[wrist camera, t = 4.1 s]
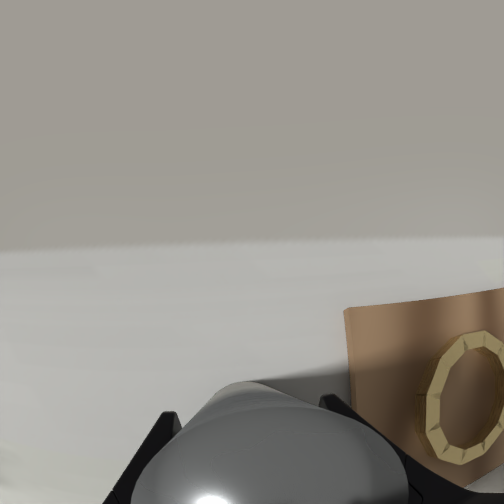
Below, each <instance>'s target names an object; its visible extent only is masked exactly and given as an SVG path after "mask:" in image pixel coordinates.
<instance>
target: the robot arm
mask: <svg viewBox="0 0 504 504" xmlns="http://www.w3.org/2000/svg"><path fill="white" fill-rule="evenodd" d="M319 407H321V408H324V409H326V410H329V411H332V412H335V413H338V414H340V415H343V416H346V417H349V418H351V419H354V420H356V421H358V422H360V423H362V424H364V425H366V426H368V427H369V428H371V429H372V430H373V431H375V432H376V433H378V434H379V435H380V436H382V437H383V438H384V439H385V440H386V441H387V442H388V443H389V445H390V446H391V447H392V448H393V449H394V451H395V452H396V454H397V455H398V457H399V458H400V460H401V463H402V465H403V467H404V469H405V472H406V476H407V480H408V489H409V500H408V504H504V493H478V492H473V491H469V490H466V489H464V488H462V487H460V486H458V485H456V484H454V483H452V482H451V481H449V480H447V479H445V478H443V477H441V476H440V475H438V474H436V473H434V472H433V471H431V470H429V469H428V468H426V467H425V466H423V465H422V464H420V463H419V462H418V461H416V460H415V459H414V458H412V457H411V456H410V455H408V454H406V452H404V451H403V450H402V449H401V448H399V447H398V446H397V445H396V444H394V443H393V442H392V441H391V440H389V439H388V438H387V437H386V436H384V435H383V434H382V433H381V432H379V431H378V430H377V429H376V428H374V427H373V426H372V425H371V424H370V423H368V422H367V421H366V420H365V419H364V418H362V417H361V416H360V415H359V414H358V413H356V412H355V411H354V410H353V409H352V408H350V407H349V406H348V405H347V404H346V403H344V402H343V401H342V400H341V399H340V398H339V397H337V396H336V395H335V394H333V393H330V394H325V395H322V396H321V397H320V402H319ZM181 429H182V427H181V424H180V421H179V418H178V416H177V413H176V412H174V411H165V412H163V413H162V414H161V415H160V417H159V418H158V420H157V422H156V423H155V425H154V426H153V428H152V429H151V431H150V432H149V434H148V435H147V437H146V438H145V440H144V442H143V443H142V445H141V446H140V448H139V449H138V451H137V452H136V454H135V455H134V457H133V458H132V460H131V461H130V463H129V465H128V466H127V468H126V469H125V471H124V472H123V474H122V475H121V477H120V478H119V480H118V481H117V483H116V484H115V486H114V487H113V489H112V490H113V491H111V492H110V493H109V495H108V496H107V498H106V499H105V501H104V502H103V503H102V504H131V498H132V494H133V491H134V488H135V485H136V482H137V480H138V479H139V477H140V475H141V473H142V471H143V470H144V468H145V467H146V466H147V464H148V463H149V462H150V461H151V460H152V458H153V457H154V456H155V455H156V454H157V453H158V452H159V451H160V450H161V449H162V448H163V447H164V446H165V445H166V444H167V443H168V442H169V441H170V440H171V439H172V438H173V437H174V436H175V435H176V434H177V433H178V432H179V431H180V430H181Z"/></svg>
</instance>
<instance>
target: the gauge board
mask: <svg viewBox="0 0 504 504" xmlns="http://www.w3.org/2000/svg"><path fill="white" fill-rule="evenodd" d="M344 319H345V328H346V338H347V348H348V360H349V373H350V388H351V406H352V409H353V410H354V411H355V412H356V413H358V414H359V415H360V416H361V417H362V418H364V419H365V420H366V421H367V422H368V423H370V424H371V425H372V426H373V427H374V428H376V429H377V430H378V431H379V432H381V433H382V434H383V435H384V436H386V437H387V438H388V439H389V440H391V441H392V442H393V443H394V444H396V445H397V446H398V447H399V448H401V449H402V450H403V451H404V452H406V454H408V455H410V456H411V457H412V458H414V459H415V460H416V461H418V462H419V463H420V464H422V465H423V466H425V467H426V468H428V469H429V470H431V471H433V472H434V473H436V474H438V475H440V476H441V477H443V478H445V479H447V480H449V481H451V482H452V483H454V484H456V485H458V486H460V487H462V488H463V487H465V486H467V485H469V484H471V483H472V482H474V481H476V480H477V479H479V478H481V477H482V476H484V475H486V474H487V473H489V472H490V471H492V470H493V469H495V468H497V467H498V466H500V465H501V464H502V463H504V429H503V431H502V432H501V433H500V435H499V436H498V437H497V439H496V440H495V441H494V443H493V444H492V445H491V446H490V448H489V449H488V450H487V451H486V452H485V453H484V454H483V455H481V456H479V457H477V458H475V459H473V460H471V461H469V462H467V463H465V464H462V465H457V464H454V463H450V462H446V461H443V460H440V459H437V458H433V457H430V456H428V455H427V454H426V452H425V450H424V448H423V446H422V444H421V442H420V440H419V438H418V437H417V435H416V433H415V395H416V392H417V389H418V387H419V385H420V382H421V380H422V377H423V375H424V372H425V369H426V367H427V364H428V361H429V360H430V358H431V357H432V356H433V355H435V354H436V353H437V352H438V351H439V350H440V349H441V348H442V346H443V345H444V344H445V343H446V342H447V341H448V340H449V339H450V338H452V337H456V336H459V335H463V334H468V333H474V332H479V331H484V330H485V331H487V332H488V333H490V334H491V335H493V336H494V337H495V338H497V339H498V340H500V341H501V342H502V343H503V344H504V288H500V289H494V290H488V291H482V292H476V293H469V294H463V295H456V296H449V297H442V298H435V299H427V300H419V301H410V302H402V303H393V304H383V305H373V306H362V307H351V308H347V309H346V310H344ZM494 400H495V376H494V373H493V371H492V369H491V366H490V364H489V362H488V360H487V358H486V357H485V356H483V355H482V354H480V353H478V352H477V351H475V350H474V349H469V350H466V351H465V352H464V354H463V355H462V356H461V357H460V358H459V359H458V360H457V361H456V363H455V364H454V365H453V366H452V367H451V368H450V370H449V373H448V376H447V379H446V382H445V384H444V387H443V390H442V392H441V395H440V419H439V425H440V427H441V429H442V431H443V433H444V435H445V437H446V440H447V442H448V444H449V445H452V446H455V447H457V446H460V445H462V444H465V443H467V442H469V441H471V440H473V438H474V437H475V436H476V435H477V434H478V433H479V431H480V430H481V429H482V428H483V427H484V425H485V424H486V423H487V420H488V418H489V415H490V412H491V409H492V406H493V403H494Z"/></svg>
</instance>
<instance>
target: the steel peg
mask: <svg viewBox="0 0 504 504" xmlns="http://www.w3.org/2000/svg"><path fill="white" fill-rule="evenodd" d="M408 500H409V489H408V480H407V476H406V472H405V469H404V467H403V465H402V463H401V460H400V458H399V457H398V455H397V454H396V452H395V451H394V449H393V448H392V447H391V446H390V445H389V443H388V442H387V441H386V440H385V439H384V438H383V437H382V436H380V435H379V434H378V433H376V432H375V431H373V430H372V429H371V428H369V427H368V426H366V425H364V424H362V423H360V422H358V421H356V420H354V419H351V418H349V417H346V416H343V415H340V414H338V413H335V412H332V411H329V410H326V409H324V408H321V407H318V406H315V405H313V404H310V403H307V402H305V401H302V400H300V399H297V398H295V397H292V396H290V395H287V394H285V393H282V392H280V391H278V390H275V389H273V388H270V387H268V386H266V385H263V384H260V383H256V382H248V381H246V382H237V383H233V384H230V385H228V386H226V387H224V388H222V389H221V390H219V391H218V392H217V393H216V394H215V395H214V396H213V397H212V398H211V399H210V400H209V401H208V402H207V403H206V404H205V405H204V407H203V408H202V409H201V410H200V411H199V412H198V413H197V414H196V415H195V416H194V417H193V418H192V419H191V420H190V421H189V422H188V423H187V424H186V425H185V426H184V427H183V428H182V429H181V430H180V431H179V432H178V433H177V434H176V435H175V436H174V437H173V438H172V439H171V440H170V441H169V442H168V443H167V444H166V445H165V446H164V447H163V448H162V449H161V450H160V451H159V452H158V453H157V454H156V455H155V456H154V457H153V458H152V460H151V461H150V462H149V463H148V464H147V466H146V467H145V468H144V470H143V471H142V473H141V475H140V477H139V479H138V480H137V482H136V485H135V488H134V491H133V494H132V498H131V504H408Z"/></svg>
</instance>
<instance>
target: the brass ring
mask: <svg viewBox="0 0 504 504" xmlns="http://www.w3.org/2000/svg"><path fill="white" fill-rule="evenodd" d="M469 349H474V350H475V351H477V352H478V353H480V354H482V355H483V356H485V357H486V358H487V360H488V362H489V364H490V366H491V369H492V371H493V373H494V376H495V400H494V403H493V406H492V409H491V412H490V415H489V418H488V420H487V423H486V424H485V425H484V427H483V428H482V429H481V430H480V431H479V433H478V434H477V435H476V436H475V437H474V438H473V440H471V441H469V442H467V443H465V444H462V445H460V446H457V447H455V446H452V445H449V444H448V442H447V440H446V437H445V435H444V433H443V431H442V429H441V427H440V425H439V419H440V395H441V392H442V390H443V387H444V384H445V382H446V379H447V376H448V373H449V370H450V368H451V367H452V366H453V365H454V364H455V363H456V361H457V360H458V359H459V358H460V357H461V356H462V355H463V354H464V352H465V351H466V350H469ZM503 429H504V344H503V343H502V342H501V341H500V340H498V339H497V338H495V337H494V336H493V335H491V334H490V333H488V332H487V331H485V330H484V331H479V332H474V333H468V334H463V335H459V336H456V337H452V338H450V339H449V340H448V341H447V342H446V343H445V344H444V345H443V346H442V348H441V349H440V350H439V351H438V352H437V353H436V354H435V355H433V356H432V357H431V358H430V360H429V361H428V364H427V367H426V369H425V372H424V375H423V377H422V380H421V382H420V385H419V387H418V389H417V392H416V395H415V433H416V435H417V437H418V438H419V440H420V442H421V444H422V446H423V448H424V450H425V452H426V454H427V455H428V456H430V457H433V458H437V459H440V460H443V461H446V462H450V463H454V464H457V465H462V464H465V463H467V462H469V461H471V460H473V459H475V458H477V457H479V456H481V455H483V454H484V453H485V452H486V451H487V450H488V449H489V448H490V446H491V445H492V444H493V443H494V441H495V440H496V439H497V437H498V436H499V435H500V433H501V432H502V431H503Z"/></svg>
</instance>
